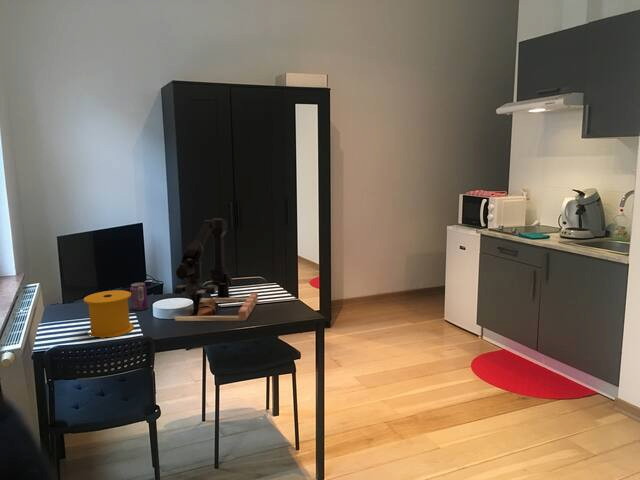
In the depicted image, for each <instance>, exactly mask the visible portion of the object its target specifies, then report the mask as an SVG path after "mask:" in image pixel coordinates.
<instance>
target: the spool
mask: <svg viewBox="0 0 640 480" xmlns="http://www.w3.org/2000/svg"><path fill="white" fill-rule="evenodd" d="M129 298H130V299H131V292H130V291H127V290H121V289H120V290H116V289H115V290H105V291H100V292H99V291H98V292H95V293H92V294H88V295H87V296H85V297H84V298H83V303H85V304H87V305H88V314H89V323H90V329H91V332H92V333H90V334H89V335H91V336H94V337H100V338H99V339H106V338H105V337H110V338H115V336H116V337H119V336H123V335H126V334H129V333H131V332H132V331H133V330H134V329H135V325H134V324H133V323H132V322H131V321H130V311H129Z"/></svg>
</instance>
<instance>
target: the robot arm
mask: <svg viewBox="0 0 640 480" xmlns="http://www.w3.org/2000/svg"><path fill="white" fill-rule="evenodd" d="M228 224H229V223H228V222H227V220H226V219H225V218H211V219H209V220H207V219H205V220H203V222H202V226H201V228H200V230H199V232H198V233H197V234H196V237H195V239H194V240H193V242H191V243H189V244H188V245H187V246H186V248H185V249H184V252H183V255H182V259H181V261H180V264H179V266H178V267H177V269H176V272H175V274H176V277H177V278H178V279H179V280H186V279H187V283H186V284H179V285H177V286H175V287H174V290H173V293H174V294H175V295H181V294H182V293H183V292H185V294H186V296H189V297H190V298H191V300H192V301H193V304H194V306H195V308H197V309H198V306H199V305H200V303H201V302H200V300H201V298H203V295H205V293H206V294H209V295H210V294H216V293H217V295H216V296H215V298H231V297H230V296H232V293H230V288H229V287H230V286H232V285H233V281H234V279H233V278H232V277H231V275H230V273H229V272H230V271H229V269H228V267H227V266H226V263H225V262H226V260H225V259H226V257H225V235H226V233H227V232H228ZM210 235H212V236H213V249H214V250H213V252H214V257H213V258H214V266H213V268H211V270H210V278H211V282H212V284H208V285H207V286H203V285H204V284H203V281H202V280H203V274H202V264H203V263H204V262H203V260H202V259H203V258H202V257H203V256H204V253H205V249H204V247H205V246H206V243H207V242H208V239H209V237H210Z"/></svg>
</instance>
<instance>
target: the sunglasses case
mask: <svg viewBox="0 0 640 480" xmlns="http://www.w3.org/2000/svg"><path fill="white" fill-rule="evenodd" d="M197 309H198V310H197V313H196V316H216V314H217V313H216V310H217V309H216V302H215V301H214V299H213V297H211V299H209V300H207V301H206V302H202V304H199V306H198V308H197Z"/></svg>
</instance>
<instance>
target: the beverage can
mask: <svg viewBox="0 0 640 480" xmlns="http://www.w3.org/2000/svg"><path fill="white" fill-rule="evenodd" d="M129 290H130V291H129V292H130V293H131V297H130V300H131V301H130V302H131V309H132V310H134V311H143V310H145V309H147V308H148V307H149V306H148V305H149V304H148V295H147V294H148V293H147V291H148V290H147V286H146V283H145V282H133V283H132V284H130V289H129Z"/></svg>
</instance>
